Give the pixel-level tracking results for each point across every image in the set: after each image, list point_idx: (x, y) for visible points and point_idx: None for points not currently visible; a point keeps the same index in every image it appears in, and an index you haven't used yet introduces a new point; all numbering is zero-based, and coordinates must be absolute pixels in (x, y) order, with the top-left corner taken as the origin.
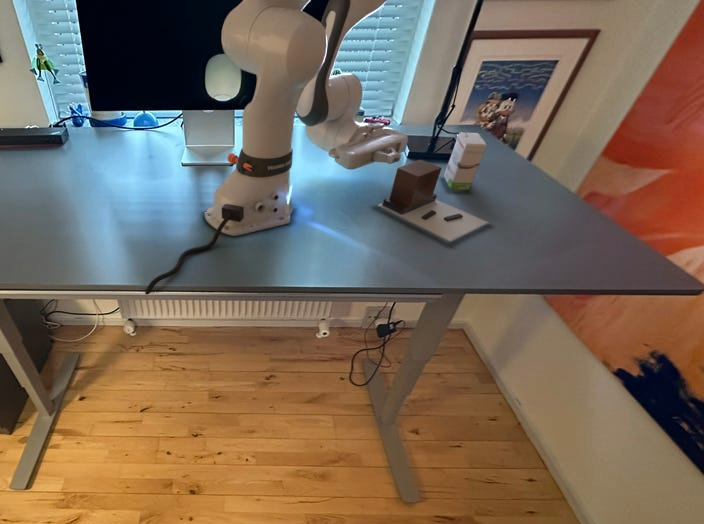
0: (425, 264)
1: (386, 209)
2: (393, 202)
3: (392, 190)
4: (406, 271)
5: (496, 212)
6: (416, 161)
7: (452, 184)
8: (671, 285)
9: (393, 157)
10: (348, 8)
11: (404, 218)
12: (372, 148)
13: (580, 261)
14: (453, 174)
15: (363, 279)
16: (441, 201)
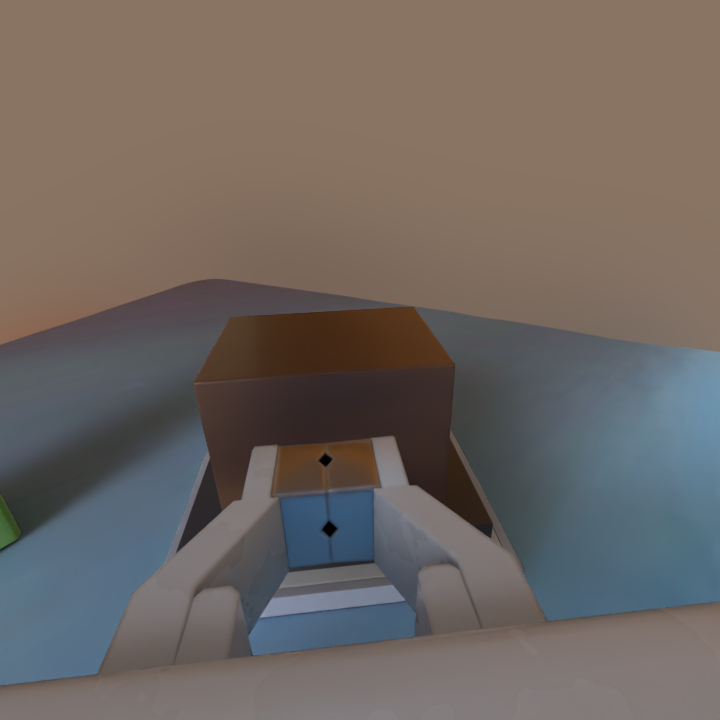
0: (510, 347)
1: (489, 512)
2: (458, 483)
3: (443, 488)
4: (568, 345)
5: (134, 397)
6: (252, 374)
7: (4, 503)
8: (225, 280)
9: (375, 438)
10: None
11: (453, 439)
12: (659, 647)
13: (247, 305)
14: None
15: (689, 353)
16: (203, 464)
